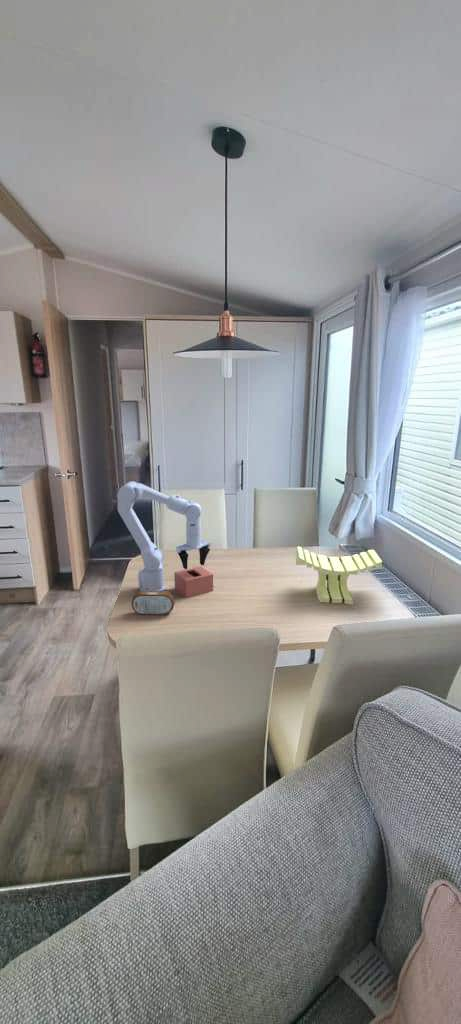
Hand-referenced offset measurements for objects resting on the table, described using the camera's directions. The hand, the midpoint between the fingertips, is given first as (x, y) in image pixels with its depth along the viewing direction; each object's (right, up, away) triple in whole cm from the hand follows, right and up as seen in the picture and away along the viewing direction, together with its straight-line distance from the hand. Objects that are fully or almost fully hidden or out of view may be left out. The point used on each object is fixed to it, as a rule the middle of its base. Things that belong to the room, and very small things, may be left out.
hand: (193, 566), depth 172 cm
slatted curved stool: (+56, -11, 0) cm, 57 cm away
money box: (0, -10, +2) cm, 10 cm away
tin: (-13, -15, -17) cm, 26 cm away
